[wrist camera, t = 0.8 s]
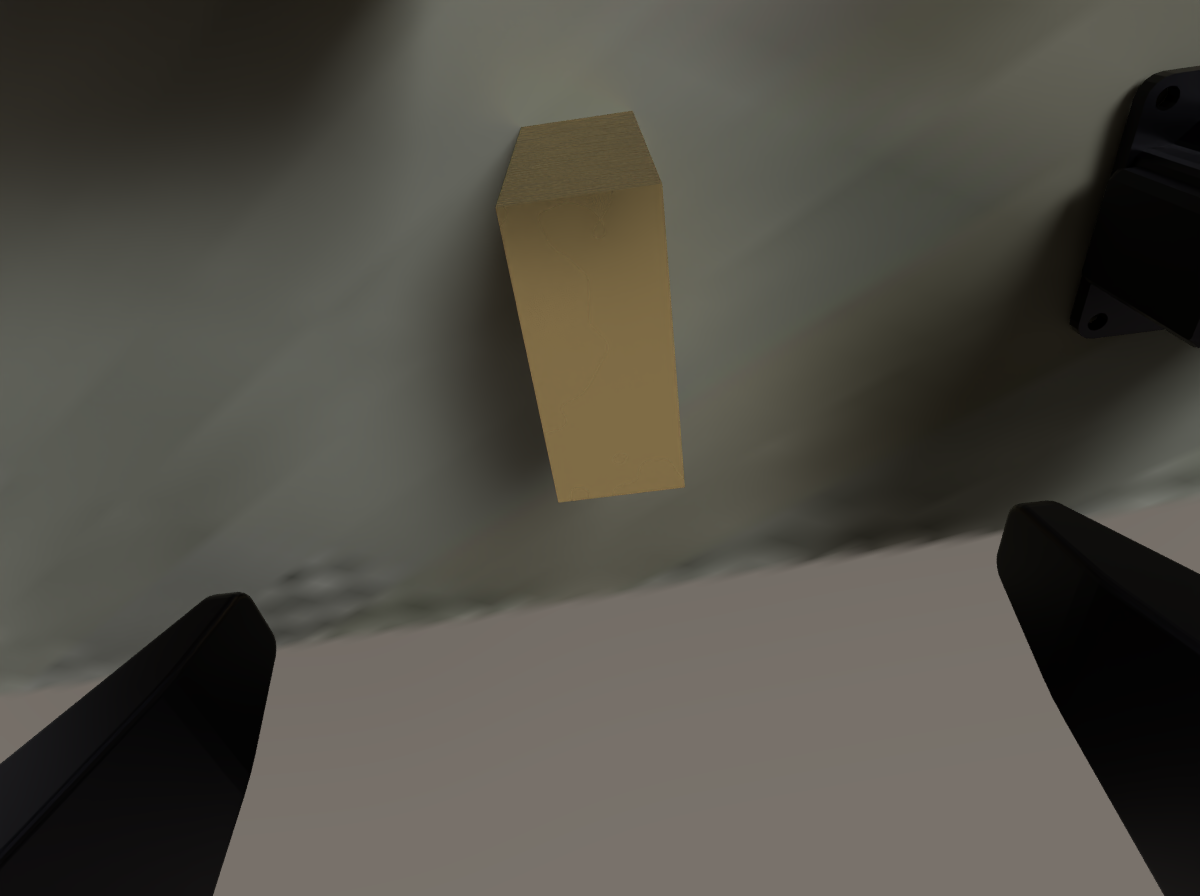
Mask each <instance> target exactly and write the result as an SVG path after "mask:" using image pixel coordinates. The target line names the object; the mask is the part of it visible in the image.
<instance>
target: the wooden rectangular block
mask: <svg viewBox="0 0 1200 896" xmlns="http://www.w3.org/2000/svg"><path fill="white" fill-rule="evenodd" d="M496 212H497V217H498V221H499V226H500V231H501V236H502V240H503V245H504V250H505V254H506V259H507V264H508V268H509V273H510V278H511V282H512V287H513V292H514V296H515V301H516V306H517V311H518V315H519V320H520V325H521V329H522V334H523V339H524V343H525V348H526V353H527V357H528V362H529V367H530V371H531V376H532V381H533V385H534V390H535V395H536V400H537V404H538V409H539V414H540V418H541V423H542V428H543V432H544V437H545V442H546V446H547V451H548V456H549V460H550V465H551V470H552V474H553V479H554V484H555V489H556V493H557V498H558V502H567V501H575V500H583V499H592V498H600V497H608V496H616V495H625V494H633V493H641V492H650V491H658V490H666V489H674V488H683V487H685V484H684V471H683V457H682V444H681V431H680V417H679V404H678V390H677V377H676V364H675V350H674V337H673V323H672V310H671V296H670V283H669V270H668V256H667V243H666V229H665V216H664V203H663V189H662V182H661V180H660V177H659V175H658V172H657V170H656V167H655V165H654V163H653V160H652V158H651V155H650V153H649V150H648V148H647V145H646V143H645V140H644V138H643V135H642V133H641V130H640V128H639V126H638V123H637V121H636V118H635V116H634V113H633V111H628V112H621V113H614V114H607V115H601V116H594V117H587V118H580V119H574V120H567V121H560V122H553V123H546V124H540V125H533V126H526V127H521V130H520V133H519V136H518V139H517V142H516V145H515V149H514V152H513V155H512V158H511V161H510V164H509V167H508V170H507V173H506V176H505V180H504V183H503V186H502V189H501V192H500V195H499V198H498V201H497V204H496Z"/></svg>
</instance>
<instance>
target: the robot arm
mask: <svg viewBox="0 0 1200 896" xmlns="http://www.w3.org/2000/svg"><path fill="white" fill-rule="evenodd" d="M1165 88H1168V91H1167V95H1166V97H1165V99H1164V101H1163V102H1161V103H1160V104H1159V105H1158V106H1156V99H1157V97H1158V95H1159V94H1160V93H1161V92H1162V91H1163V90H1164V89H1165ZM1096 314H1098V316H1097V318H1096V319H1095V320H1094V321H1093V322H1091V323H1088V322H1089V321H1090V319H1091V318H1092V317H1093V316H1094V315H1096ZM1070 326H1071V328H1072V329H1073V330H1074V331H1076V332H1077V333H1078V334H1080V335H1081V336H1083V337H1085V338H1100V337H1108V336H1116V335H1124V334H1132V333H1139V332H1147V331H1155V330H1163V329H1165V330H1167V331H1169V332H1170V333H1172V334H1173V335H1175V336H1177V337H1178V338H1180V339H1181V340H1183V341H1185V342H1186V343H1188V344H1190V345H1191V346H1193V347H1196V348H1200V66H1195V67H1188V68H1181V69H1174V70H1167V71H1162V72H1159V73H1156V74H1153V75H1152V76H1151V77H1149V78H1148V79H1146V80H1145V81H1144V82H1143V83H1142V85H1141V86H1140V87H1139V88H1138V90H1137V92H1136V94H1135V96H1134V98H1133V101H1132V105H1131V108H1130V112H1129V115H1128V119H1127V122H1126V126H1125V129H1124V133H1123V136H1122V140H1121V143H1120V147H1119V150H1118V154H1117V157H1116V161H1115V164H1114V168H1113V171H1112V174H1111V178H1110V179H1109V181H1108V183H1107V186H1106V190H1105V193H1104V197H1103V200H1102V204H1101V207H1100V211H1099V214H1098V218H1097V221H1096V225H1095V228H1094V232H1093V235H1092V239H1091V242H1090V246H1089V249H1088V253H1087V256H1086V260H1085V263H1084V267H1083V270H1082V279H1081V282H1080V286H1079V289H1078V293H1077V296H1076V300H1075V303H1074V307H1073V310H1072V314H1071V317H1070ZM997 569H998V573H999V576H1000V579H1001V581H1002V584H1003V586H1004V588H1005V591H1006V593H1007V595H1008V598H1009V600H1010V602H1011V604H1012V607H1013V609H1014V611H1015V614H1016V616H1017V618H1018V621H1019V623H1020V625H1021V628H1022V630H1023V632H1024V635H1025V637H1026V639H1027V642H1028V644H1029V646H1030V649H1031V651H1032V653H1033V656H1034V658H1035V660H1036V663H1037V665H1038V667H1039V669H1040V672H1041V674H1042V676H1043V679H1044V681H1045V683H1046V685H1047V687H1048V689H1049V691H1050V694H1051V696H1052V698H1053V700H1054V702H1055V703H1056V705H1057V707H1058V709H1059V711H1060V713H1061V715H1062V716H1063V718H1064V720H1065V722H1066V724H1067V725H1068V727H1069V729H1070V730H1071V732H1072V734H1073V736H1074V738H1075V739H1076V741H1077V743H1078V744H1079V746H1080V748H1081V750H1082V752H1083V754H1084V755H1085V757H1086V759H1087V760H1088V762H1089V764H1090V766H1091V768H1092V769H1093V771H1094V773H1095V775H1096V776H1097V778H1098V780H1099V782H1100V783H1101V785H1102V787H1103V789H1104V790H1105V792H1106V794H1107V796H1108V798H1109V799H1110V801H1111V803H1112V805H1113V806H1114V808H1115V810H1116V811H1117V813H1118V815H1119V817H1120V819H1121V820H1122V822H1123V824H1124V826H1125V827H1126V829H1127V831H1128V833H1129V834H1130V836H1131V838H1132V840H1133V842H1134V843H1135V845H1136V847H1137V848H1138V850H1139V852H1140V854H1141V855H1142V857H1143V859H1144V861H1145V863H1146V864H1147V866H1148V868H1149V870H1150V871H1151V873H1152V875H1153V877H1154V879H1155V880H1156V882H1157V884H1158V886H1159V887H1160V889H1161V891H1162V893H1163V894H1164V896H1200V574H1199V573H1196V572H1194V571H1193V570H1191V569H1189V568H1187V567H1185V566H1183V565H1181V564H1179V563H1177V562H1175V561H1173V560H1171V559H1169V558H1167V557H1165V556H1163V555H1161V554H1159V553H1157V552H1155V551H1153V550H1151V549H1149V548H1147V547H1145V546H1143V545H1141V544H1139V543H1137V542H1135V541H1133V540H1131V539H1129V538H1127V537H1125V536H1123V535H1121V534H1119V533H1117V532H1115V531H1113V530H1112V529H1110V528H1108V527H1106V526H1103V525H1102V524H1100V523H1098V522H1096V521H1094V520H1092V519H1090V518H1088V517H1086V516H1084V515H1082V514H1080V513H1078V512H1076V511H1074V510H1072V509H1070V508H1068V507H1066V506H1064V505H1062V504H1060V503H1057V502H1054V501H1039V502H1030V503H1021V504H1018V505H1015V506H1014V507H1013V508H1012V509H1011V510H1010V512H1009V514H1008V517H1007V521H1006V524H1005V528H1004V532H1003V535H1002V539H1001V542H1000V546H999V550H998V553H997ZM275 657H276V641H275V637H274V635H273V632H272V631H271V629H270V628H269V626H268V624H267V623H266V621H265V619H264V618H263V616H262V615H261V613H260V611H259V610H258V608H257V606H256V605H255V603H254V602H253V600H252V599H251V597H250V596H248V595H247V594H245V593H242V592H234V593H225V594H216V595H212V596H209V597H207V598H205V599H204V600H203V601H201V602H200V603H199V604H198V605H196V606H195V607H194V608H193V609H191V610H190V611H189V612H188V613H187V614H185V615H184V616H183V617H182V618H180V619H179V620H178V621H177V622H175V623H174V624H173V625H172V626H170V627H169V628H168V629H167V630H165V631H164V632H163V633H162V634H161V635H159V636H158V637H157V638H156V639H154V640H153V641H152V642H151V643H149V644H148V645H147V646H146V647H144V648H143V649H142V650H141V651H139V652H138V653H137V654H136V655H135V656H133V657H132V658H131V659H130V660H128V661H127V662H126V663H125V664H123V665H122V666H121V667H120V668H118V669H117V670H116V671H115V672H113V673H112V674H111V675H110V676H108V677H107V678H106V679H105V680H104V681H102V682H101V683H100V684H99V685H97V686H96V687H95V688H94V689H92V690H91V691H90V692H89V693H87V694H86V695H85V696H84V697H83V698H81V699H80V700H79V701H78V702H77V703H75V704H74V705H73V706H71V707H70V708H69V709H68V710H67V711H65V712H64V713H63V714H61V715H60V716H59V717H58V718H56V719H55V720H54V721H53V722H52V723H50V724H49V725H48V726H47V727H45V728H44V729H43V730H42V731H40V732H39V733H38V734H37V735H35V736H34V737H33V738H32V739H31V740H29V741H28V742H27V743H26V744H24V745H23V746H22V747H21V748H19V749H18V750H17V751H16V752H14V754H12V755H11V756H10V757H8V758H7V759H6V760H5V761H3V762H2V763H1V764H0V896H213V894H214V890H215V887H216V884H217V881H218V877H219V875H220V871H221V868H222V865H223V862H224V859H225V856H226V852H227V849H228V846H229V843H230V840H231V836H232V833H233V830H234V827H235V824H236V821H237V818H238V815H239V811H240V808H241V805H242V802H243V799H244V795H245V792H246V789H247V785H248V781H249V778H250V775H251V771H252V766H253V762H254V758H255V754H256V749H257V744H258V739H259V734H260V730H261V725H262V720H263V715H264V710H265V705H266V701H267V696H268V691H269V686H270V681H271V676H272V671H273V666H274V662H275Z"/></svg>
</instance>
